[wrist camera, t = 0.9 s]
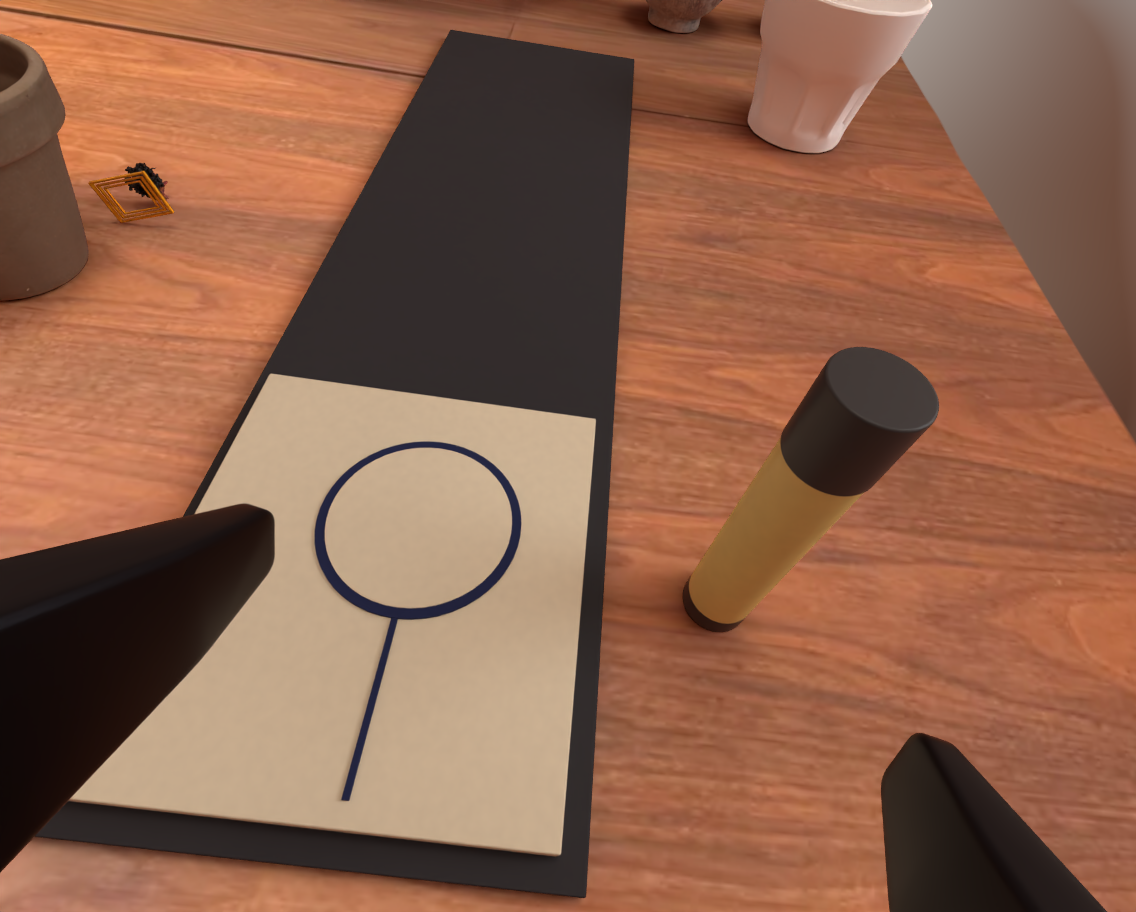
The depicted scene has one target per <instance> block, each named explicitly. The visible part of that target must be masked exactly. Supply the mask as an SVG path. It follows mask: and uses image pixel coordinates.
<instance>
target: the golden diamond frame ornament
mask: <svg viewBox="0 0 1136 912" xmlns="http://www.w3.org/2000/svg"><path fill="white" fill-rule="evenodd" d="M144 165H145V166H144ZM152 169H155V168H151V169H149V167H147V166H146V164H145V163H144V164H142V163H139V164H138V163H136V167H134V168H131V167H127V169H125V171H128V173H129V172H130V174H125V175H120V176H115V177H110V178H105V179H100V180H95V181H90V182H89V183H88V184H89V185H90V186H91V187H92V188H93V190H94V191H95V192H96V193H97V195H98V196H99V197H100V198H101V199H102V201H103V202H104V203H105V204H106V206H107V207H108V208H109V209H110V210H111V212H112V213H113V214H114V215H115V217H116V218H117V219H118V220H119V221H120V223H123V222H129V221H134V220H140V219H145V218H151V217H156V216H161V215H167V214H172V213H174V211H173V209H172V208H171V207H170V205H169V204H168V202H167V201H166V200H165V199H167V198H168V197H167V196H166V195H165V194H164V186H165V185H166V184H167V181H165V182H163V183H162V179H160V178H159V177H158V174H155V173H153V171H152ZM130 176H132V178H131V177H130ZM120 178H125V179H122V180H117V181H112V182H107V183H102V184H97V185H96V186H97V188H98V189H99V190H100V191H101V192H102V194H103V195H104V196H105V197H106V199H107V200H108V201H109V202H110V204H111V205H112V206H113V207H114V209H115V210H116V211H117V212H118V213H119V215H120V216H121V217H122V218H123V219H124V218H129V217H134V216H140V215H145V214H151V213H156V212H161V211H166V210H167V209H166V207H167V208H168V210H169V211H167V212H162V213H157V214H151V215H146V216H140V217H135V218H129V219H124V220H122V218H121V217H120V216H119V215H118V214H117V212H116V211H115V210H114V209H113V207H112V206H111V205H110V204H109V202H108V201H107V200H106V199H105V197H104V196H103V195H102V194H101V193H100V191H99V190H98V189H97V188H96V186H95V185H94V184H95V183H100V182H105V181H110V180H115V179H120ZM119 182H125V183H122V184H117V185H112V186H107V187H104V190H105V191H106V192H107V193H108V195H109V196H110V197H111V198H112V200H113V201H114V202H115V203H116V205H117V206H118V207H119V208H120V210H121V211H122V212H123V213H124V215H125V214H131V213H136V212H141V211H147V210H152V209H157V208H160V206H159V205H158V203H159V204H160V205H161V207H162V208H163V209H159V210H154V211H148V212H143V213H138V214H132V215H127V216H124V215H123V214H122V213H121V211H120V210H119V209H118V208H117V206H116V205H115V204H114V203H113V201H112V200H111V199H110V198H109V196H108V195H107V194H106V193H105V191H104V190H103V189H102V188H101V187H100V186H104V185H109V184H114V183H119ZM127 184H128V186H130V187H129V190H130V191H132V188H134V190H136V193H139V194H142V195H141V196H142V197H143V196H145V195H146V196H147V197H148V198H151V199H152V201H153V202H154V203H155V205H156V206H157V207H152V208H147V209H142V210H136V211H131V212H125V211H124V210H123V208H122V207H121V206H120V205H119V203H118V202H117V201H116V200H115V198H114V197H113V196H112V195H111V193H110V192H109V191H108V190H107V188H112V187H117V186H122V185H127ZM168 199H169V198H168ZM155 200H157V201H158V203H157V202H156V201H155ZM160 200H162V201H163V203H164V204H165V206H166V207H165V206H164V205H163V203H162V202H161V201H160Z"/></svg>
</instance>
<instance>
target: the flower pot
mask: <svg viewBox="0 0 1136 912" xmlns="http://www.w3.org/2000/svg"><path fill="white" fill-rule="evenodd" d="M64 120H65V108H64V105H63V102H62V100H61V98H60V96H59V94H58V91H57V89H56V87H55V85H54V83H53V81H52V79H51V77H50V75H49V73H48V70H47V67H46V65H45V63H44V61H43V59H42V58H41V57H40V55H39V54H38V53H37V52H36V51H35V50H34V49H33V48H32V47H30V46H28V45H27V44H25V43H23V42H21V41H19V40H17V39H14V38H12V37H9V36H6V35H3V34H0V300H14V299H22V298H27V297H31V296H35V295H39V294H42V293H45V292H48V291H50V290H53V289H55V288H57V287H59V286H61V285H63V284H65V283H67V282H68V281H70V280H71V279H73V278H74V277H75V276H76V275H77V274H78V273H79V272H80V271H81V270H82V269H83V267H84V266H85V264H86V262H87V259H88V245H87V241H86V236H85V232H84V228H83V224H82V220H81V216H80V212H79V209H78V205H77V201H76V198H75V194H74V191H73V187H72V184H71V181H70V178H69V175H68V171H67V168H66V165H65V162H64V158H63V155H62V151H61V148H60V144H59V139H58V135H57V133H58V131H59V130H60V128H61V127H62V125H63V123H64Z"/></svg>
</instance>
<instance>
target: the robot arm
mask: <svg viewBox="0 0 1136 912" xmlns="http://www.w3.org/2000/svg"><path fill="white" fill-rule="evenodd" d="M274 558H275V520H274V516H273V514H272V513H271V512H270V511H268V510H266V509H263V508H260V507H257V506H254V505H251V504H246V503H241V504H237V505H232V506H228V507H224V508H219V509H215V510H211V511H207V512H202V513H198V514H194V515H189V516H185V517H181V518H177V519H172V520H168V521H164V522H159V523H155V524H151V525H147V526H142V527H138V528H134V529H130V530H125V531H121V532H117V533H112V534H108V535H104V536H100V537H95V538H91V539H87V540H82V541H78V542H74V543H70V544H65V545H61V546H57V547H52V548H48V549H44V550H40V551H35V552H31V553H27V554H22V555H18V556H14V557H10V558H5V559H1V560H0V872H1V871H2V870H3V869H4V868H5V867H6V866H7V865H8V864H9V863H10V862H11V861H12V860H13V859H14V858H15V856H16V855H17V854H18V853H19V852H20V851H21V850H22V849H23V848H24V847H25V846H26V845H27V844H28V843H29V842H30V841H31V840H32V839H33V837H34V836H35V835H36V834H37V833H38V832H39V831H40V830H41V829H42V828H43V827H44V826H45V825H46V824H47V823H48V822H49V821H50V820H51V818H52V817H53V816H54V815H55V814H56V813H57V812H58V811H59V810H60V809H61V808H62V807H63V806H64V805H65V804H66V803H67V802H68V800H69V799H70V798H71V797H72V796H73V795H74V794H75V793H76V792H77V791H78V790H79V789H80V788H81V787H82V786H83V785H84V784H85V783H86V781H87V780H88V779H89V778H90V777H91V776H92V775H93V774H94V773H95V772H96V771H97V770H98V769H99V768H100V767H101V766H102V765H103V763H104V762H105V761H106V760H107V759H108V758H109V757H110V756H111V755H112V754H113V753H114V752H115V751H116V750H117V749H118V748H119V747H120V746H121V744H122V743H123V742H124V741H125V740H126V739H127V738H128V737H129V736H130V735H131V734H132V733H133V732H134V731H135V730H136V729H137V728H138V727H139V725H140V724H141V723H142V722H143V721H144V720H145V719H146V718H147V717H148V716H149V715H150V714H151V713H152V712H153V711H154V710H155V709H156V707H157V706H158V705H159V704H160V703H161V702H162V701H163V700H164V699H165V698H166V697H167V696H168V695H169V694H170V693H171V692H172V691H173V690H174V688H175V687H176V686H177V685H178V684H179V683H180V682H181V681H182V680H183V679H184V678H185V677H186V676H187V675H188V674H189V672H190V671H191V670H192V669H193V668H194V667H195V666H196V665H197V664H198V663H199V661H200V660H201V659H202V658H203V657H204V655H205V654H206V653H207V652H208V651H209V649H210V648H211V647H212V646H213V644H214V643H215V642H216V641H217V639H218V638H219V637H220V635H221V634H222V633H223V632H224V630H225V629H226V628H227V626H228V625H229V624H230V623H231V621H232V620H233V619H234V617H235V616H236V615H237V614H238V612H239V611H240V610H241V608H242V607H243V606H244V605H245V603H246V602H247V601H248V599H249V598H250V597H251V596H252V594H253V593H254V592H255V590H256V589H257V588H258V587H259V585H260V584H261V583H262V581H263V580H264V579H265V578H266V576H267V575H268V573H269V572H270V570H271V568H272V566H273V563H274ZM881 800H882V814H883V829H884V843H885V857H886V872H887V886H888V900H889V910H890V912H1107V911H1106V910H1105V909H1104V908H1103V907H1102V906H1101V905H1100V904H1099V902H1098V901H1097V900H1096V899H1095V898H1094V897H1093V896H1092V895H1091V894H1090V893H1089V892H1088V890H1087V889H1086V888H1085V887H1084V886H1083V885H1082V884H1081V883H1080V882H1079V881H1078V880H1077V878H1076V877H1075V876H1074V875H1073V874H1072V873H1071V872H1070V871H1069V870H1068V869H1067V868H1066V867H1065V865H1064V864H1063V863H1062V862H1061V861H1060V860H1059V859H1058V858H1057V857H1056V856H1055V855H1054V853H1053V852H1052V851H1051V850H1050V849H1049V848H1048V847H1047V846H1046V845H1045V844H1044V843H1043V841H1042V840H1041V839H1040V838H1039V837H1038V836H1037V835H1036V834H1035V833H1034V832H1033V831H1032V829H1031V828H1030V827H1029V826H1028V825H1027V824H1026V823H1025V822H1024V821H1023V820H1022V819H1021V817H1020V816H1019V815H1018V814H1017V813H1016V812H1015V811H1014V810H1013V809H1012V808H1011V807H1010V805H1009V804H1008V803H1007V802H1006V801H1005V800H1004V799H1003V798H1002V797H1001V796H1000V795H999V793H998V792H997V791H996V790H995V789H994V788H993V787H992V786H991V785H990V784H989V783H988V781H987V780H986V779H985V778H984V777H983V776H982V775H981V774H980V773H979V772H978V771H977V770H976V768H975V767H974V766H973V765H972V764H971V763H970V762H969V761H968V760H967V759H966V758H965V756H964V755H963V754H962V753H961V752H960V751H959V750H958V749H957V748H956V747H955V746H954V745H953V744H951V743H949V742H947V741H944V740H941V739H938V738H936V737H933V736H930V735H927V734H924V733H916V734H914V735H912V736H911V737H910V738H909V739H908V740H907V742H906V743H905V744H904V746H903V747H902V748H901V750H900V751H899V753H898V754H897V755H896V757H895V758H894V759H893V761H892V762H891V764H890V765H889V766H888V768H887V769H886V771H885V773H884V775H883V778H882V783H881Z"/></svg>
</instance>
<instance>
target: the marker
mask: <svg viewBox="0 0 1136 912" xmlns="http://www.w3.org/2000/svg"><path fill="white" fill-rule="evenodd" d="M938 411H939V402H938V397H937V394H936V392H935V390H934V388H933V386H932V385H931V383H930V382H929V381H928V379H927V378H926V377H925V376H924V375H923V374H922V373H921V372H920V371H919V370H918V369H916V368H915V367H914V366H912V365H911V364H910V363H908V362H907V361H905V360H903V359H901V358H900V357H898V356H895V355H893V354H891V353H888V352H885V351H882V350H879V349H874V348H868V347H853V348H847V349H844V350H841V351H839V352H838V353H836V354H834V355H833V356H832V357H831V358H830V359H829V360H828V361H827V363H826V365H825V366H824V368H823V369H822V371H821V372H820V374H819V375H818V377H817V378H816V380H815V382H814V383H813V385H812V386H811V388H810V389H809V391H808V392H807V394H806V396H805V397H804V399H803V400H802V402H801V403H800V405H799V406H798V408H797V410H796V411H795V413H794V414H793V416H792V417H791V419H790V420H789V422H788V424H787V425H786V427H785V428H784V430H783V432H782V435H781V438H780V439H779V441H778V442H777V444H776V445H775V447H774V448H773V450H772V451H771V453H770V455H769V456H768V458H767V459H766V461H765V462H764V464H763V465H762V467H761V468H760V470H759V471H758V473H757V475H756V476H755V478H754V479H753V481H752V482H751V484H750V485H749V487H748V488H747V490H746V492H745V493H744V495H743V496H742V498H741V499H740V501H739V502H738V504H737V505H736V507H735V508H734V510H733V512H732V513H731V515H730V516H729V518H728V519H727V521H726V522H725V524H724V525H723V527H722V529H721V530H720V532H719V533H718V535H717V536H716V538H715V539H714V541H713V542H712V544H711V545H710V547H709V549H708V550H707V552H706V553H705V555H704V556H703V558H702V559H701V561H700V562H699V564H698V566H697V567H696V569H695V570H694V572H693V573H692V575H691V576H690V578H689V579H688V581H687V582H686V584H685V587H684V590H683V602H684V606H685V609H686V611H687V613H688V614H689V616H690V617H691V618H692V619H693V620H694V621H695V622H696V623H697V624H698V625H700V626H701V627H703V628H705V629H707V630H710V631H715V632H725V631H729V630H732V629H733V628H735V627H736V626H738V625H739V624H740V623H741V621H742V620H743V619H744V618H745V617H746V616H747V615H748V614H749V613H750V612H751V611H752V610H753V609H754V608H755V607H756V606H757V605H758V604H759V603H760V601H761V600H762V599H763V598H764V597H765V596H766V595H767V594H768V593H769V592H770V591H771V590H772V589H773V588H774V587H775V586H776V585H777V584H778V583H779V581H780V580H781V579H782V578H783V577H784V576H785V575H786V574H787V573H788V572H789V571H790V570H791V569H792V568H793V567H794V566H795V565H796V564H797V563H798V561H799V560H800V559H801V558H802V557H803V556H804V555H805V554H806V553H807V552H808V551H809V550H810V549H811V548H812V547H813V546H814V545H815V544H816V543H817V541H818V540H819V539H820V538H821V537H822V536H823V535H824V534H825V533H826V532H827V531H828V530H829V529H830V528H831V527H832V526H833V525H834V524H835V523H836V521H837V520H838V519H839V518H840V517H841V516H842V515H843V514H844V513H845V512H846V511H847V510H848V509H849V508H850V507H851V506H852V505H853V504H854V503H855V501H856V500H857V499H858V498H859V497H860V496H861V495H862V494H863V493H864V492H866V491H868V490H869V489H870V488H871V487H872V486H873V485H874V484H875V483H876V482H877V481H878V480H879V479H880V478H881V477H882V476H883V475H884V474H885V473H886V472H887V471H888V470H889V469H890V468H891V466H892V465H893V464H894V463H895V462H896V461H897V460H898V459H899V458H900V457H901V456H902V455H903V454H904V453H905V452H906V451H907V450H908V449H909V448H910V447H911V446H912V445H913V443H914V442H915V441H916V440H917V439H918V438H919V437H920V436H921V435H922V434H923V433H924V432H925V431H926V430H927V429H928V428H929V427H930V426H931V425H932V424H933V422H934V421H935V419H936V418H937V415H938Z"/></svg>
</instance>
